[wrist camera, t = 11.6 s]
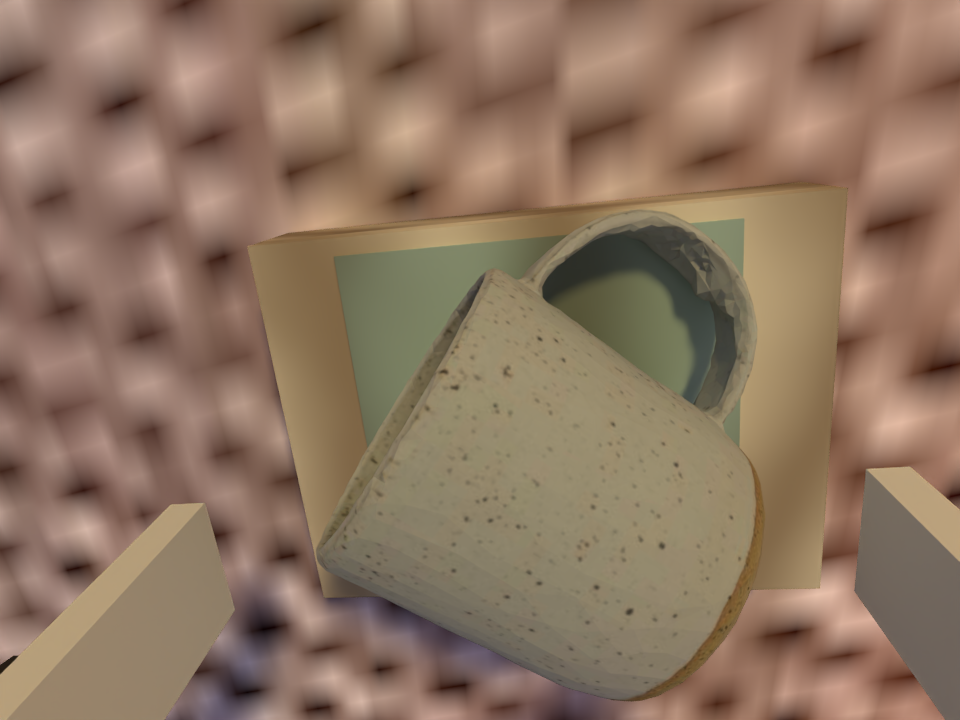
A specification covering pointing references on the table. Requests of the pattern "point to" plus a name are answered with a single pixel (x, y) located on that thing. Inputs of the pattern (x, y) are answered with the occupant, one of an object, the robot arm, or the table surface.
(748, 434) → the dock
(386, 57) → the table surface
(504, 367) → the ceramic mug
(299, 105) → the table surface
